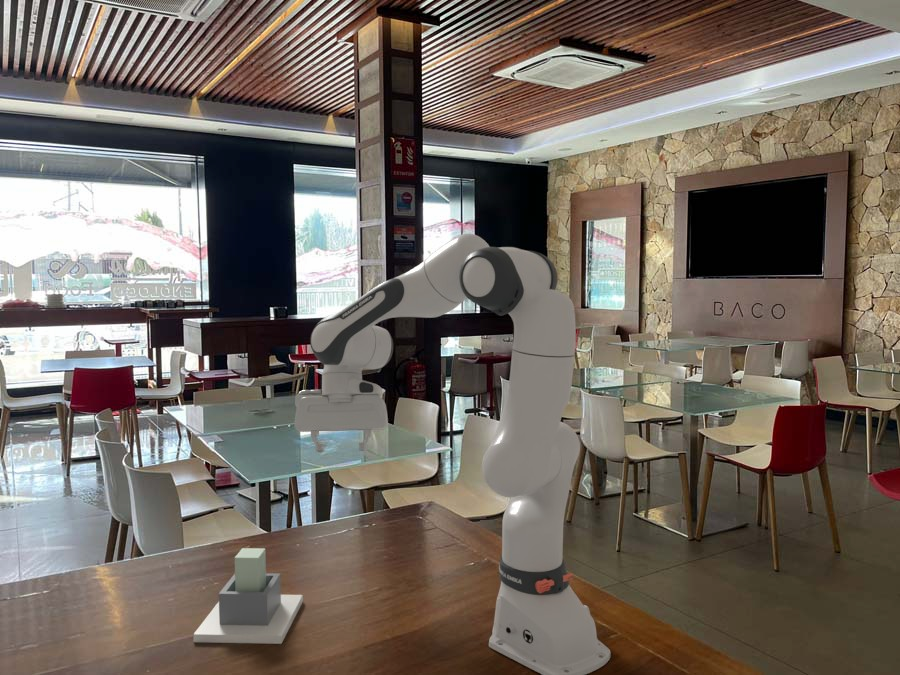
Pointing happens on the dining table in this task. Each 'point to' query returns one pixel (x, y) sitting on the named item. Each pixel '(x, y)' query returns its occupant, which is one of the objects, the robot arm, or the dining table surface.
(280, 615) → the well stand
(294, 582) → the dining table surface
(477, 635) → the dining table surface
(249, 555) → the sage block
